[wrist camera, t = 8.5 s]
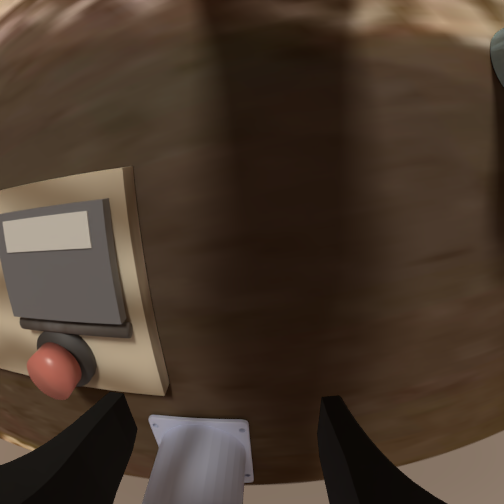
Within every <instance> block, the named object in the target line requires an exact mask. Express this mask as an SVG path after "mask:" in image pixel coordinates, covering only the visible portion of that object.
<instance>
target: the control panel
mask: <svg viewBox="0 0 504 504" xmlns="http://www.w3.org/2000/svg"><path fill="white" fill-rule="evenodd" d="M105 198H109V204H110V214H111V223H112V232H113V240H114V247H115V255H116V262H117V268H118V274H119V280H120V286H121V292H122V298H123V303H124V308H125V313H126V318H127V319H126V320H125V321H124V322H123V323H122V324H101V323H85V322H70V321H57V320H45V319H34V318H24V317H15V316H14V314H13V311H12V307H11V303H10V300H9V296H8V292H7V288H6V283H5V279H4V275H3V270H2V265H1V260H0V368H1V369H5V370H9V371H13V372H17V373H21V374H25V375H29V373H28V371H27V362H28V360H29V359H30V357H31V356H32V355H33V354H34V353H35V352H36V351H37V350H38V349H39V348H40V347H41V346H42V345H43V344H44V343H47V342H52V343H56V344H58V345H60V346H62V347H64V348H65V349H66V350H68V351H69V352H70V353H71V354H72V355H73V356H74V358H75V359H76V360H77V362H78V364H79V366H80V369H81V373H82V376H81V380H80V381H79V383H78V384H77V387H79V386H85V387H91V388H98V389H105V390H112V391H120V392H129V393H138V394H149V395H160V396H165V394H166V391H167V388H168V386H169V383H170V382H169V378H168V374H167V370H166V366H165V362H164V357H163V353H162V349H161V344H160V340H159V335H158V331H157V326H156V321H155V316H154V311H153V306H152V301H151V295H150V290H149V284H148V279H147V273H146V267H145V260H144V254H143V247H142V240H141V233H140V226H139V218H138V210H137V202H136V192H135V183H134V172H133V166H130V167H122V168H115V169H108V170H102V171H95V172H89V173H83V174H77V175H71V176H66V177H60V178H55V179H50V180H45V181H40V182H35V183H30V184H26V185H21V186H17V187H12V188H8V189H4V190H0V214H1V213H7V212H13V211H19V210H25V209H32V208H38V207H45V206H51V205H58V204H66V203H73V202H81V201H89V200H97V199H105Z"/></svg>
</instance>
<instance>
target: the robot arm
mask: <svg viewBox="0 0 504 504" xmlns="http://www.w3.org/2000/svg"><path fill="white" fill-rule="evenodd" d="M149 423H150V426H151V428H152V431H153V433H154V436H155V438H156V441H157V443H158V446H159V450H158V453H157V456H156V459H155V462H154V466H153V469H152V472H151V475H150V479H149V482H148V485H147V489H146V492H145V495H144V499H143V502H142V504H243V492H244V483H250V482H253V481H254V475H253V465H252V454H251V444H250V433H249V423H248V421H246V420H243V419H207V418H188V417H174V416H162V415H150V417H149ZM136 433H137V426H136V424H135V421H134V419H133V417H132V414H131V412H130V409H129V406H128V404H127V401H126V399H125V396H124V394H123V393H115V392H109V393H108V394H106V395H105V396H104V397H103V398H102V399H101V400H99V401H98V402H97V403H96V404H95V405H94V406H93V407H91V408H90V409H89V410H88V411H87V412H86V413H84V414H83V415H82V416H81V417H80V418H79V419H77V420H76V421H75V422H74V423H73V424H71V425H70V426H69V427H67V428H66V429H65V430H64V431H62V432H61V433H60V434H58V435H57V436H56V437H54V438H53V439H51V440H50V441H48V442H47V443H45V444H44V445H42V446H40V447H39V448H37V449H35V450H34V451H32V452H30V453H28V454H26V455H24V456H22V457H20V458H17V459H15V460H13V461H11V462H8V463H5V464H3V465H0V504H113V501H114V498H115V495H116V492H117V490H118V487H119V484H120V482H121V479H122V477H123V474H124V472H125V469H126V466H127V464H128V461H129V459H130V456H131V453H132V451H133V447H134V443H135V438H136ZM317 436H318V447H319V457H320V462H321V466H322V471H323V475H324V480H325V485H326V489H327V493H328V498H329V503H330V504H447V503H445V502H443V501H442V500H440V499H438V498H436V497H435V496H433V495H432V494H430V493H429V492H427V491H425V489H423V488H421V487H420V486H419V485H417V484H416V483H415V482H413V481H412V480H411V479H409V478H408V477H407V476H406V475H405V474H404V473H402V472H401V471H400V470H399V469H398V468H397V467H396V466H395V465H394V464H393V463H392V462H390V461H389V460H388V458H387V457H386V456H385V455H384V454H383V453H382V452H381V451H380V450H379V449H378V448H377V447H376V445H375V444H374V443H373V442H372V441H371V439H370V438H369V437H368V436H367V434H366V433H365V432H364V431H363V429H362V428H361V427H360V425H359V424H358V423H357V421H356V420H355V418H354V417H353V415H352V414H351V412H350V411H349V409H348V408H347V406H346V405H345V403H344V401H343V400H342V398H341V397H340V396H328V397H322V398H321V407H320V416H319V424H318V431H317Z"/></svg>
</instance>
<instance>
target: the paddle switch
mask: <svg viewBox="0 0 504 504" xmlns="http://www.w3.org/2000/svg"><path fill="white" fill-rule="evenodd" d="M0 260H1V265H2V270H3V275H4V279H5V283H6V288H7V292H8V296H9V300H10V303H11V307H12V311H13V314H14V316H15V317H24V318H34V319H45V320H57V321H70V322H85V323H101V324H122V323H123V322H124V321H125V320H126V319H127V318H126V313H125V308H124V303H123V298H122V292H121V286H120V280H119V274H118V268H117V262H116V255H115V247H114V240H113V232H112V223H111V214H110V204H109V198H105V199H97V200H89V201H81V202H73V203H66V204H58V205H51V206H45V207H38V208H32V209H25V210H19V211H13V212H7V213H1V214H0Z"/></svg>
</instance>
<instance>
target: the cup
mask: <svg viewBox="0 0 504 504" xmlns="http://www.w3.org/2000/svg"><path fill="white" fill-rule="evenodd" d="M490 54H491V60H492V64H493V67H494V70H495V72H496V75H497V77H498V79H499V81H500V82H501V84H502V86H503V87H504V28H503V29H501V30H499V31H498V32H497V33H496V34H495V35H494V37H493V38H492V40H491V46H490Z"/></svg>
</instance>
